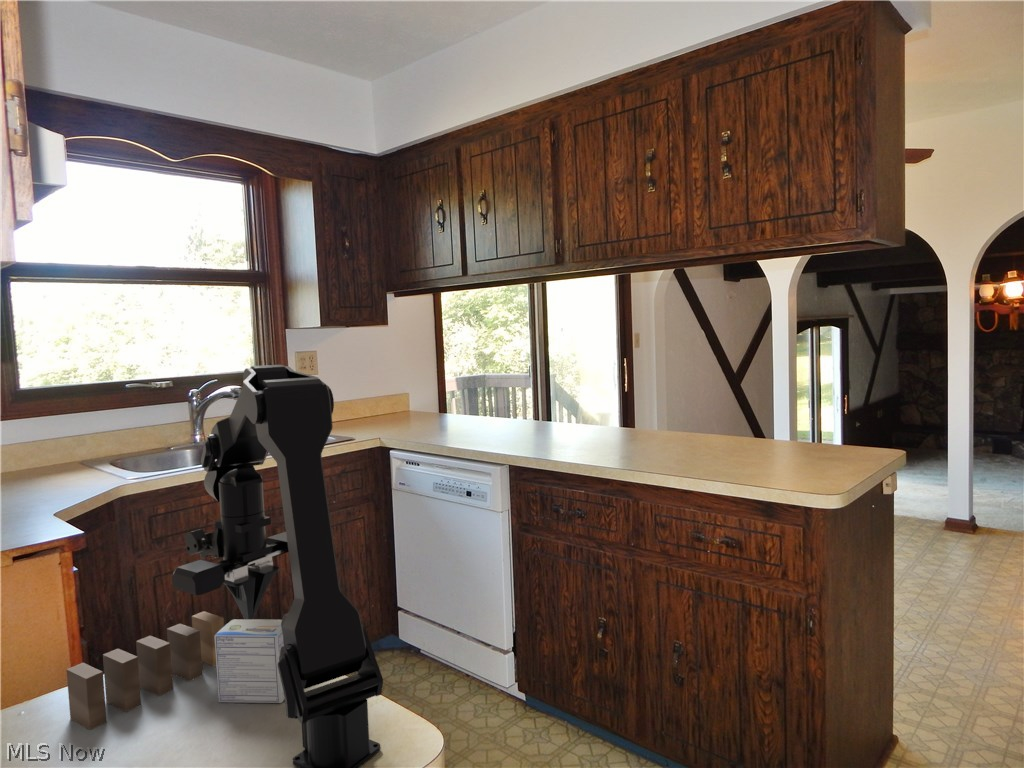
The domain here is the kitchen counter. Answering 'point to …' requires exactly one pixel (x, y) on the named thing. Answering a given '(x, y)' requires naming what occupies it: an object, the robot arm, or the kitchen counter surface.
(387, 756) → the kitchen counter surface
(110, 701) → the domino
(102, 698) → the domino
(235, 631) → the medicine box
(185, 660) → the domino
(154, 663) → the domino
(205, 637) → the domino
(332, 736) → the robot arm
